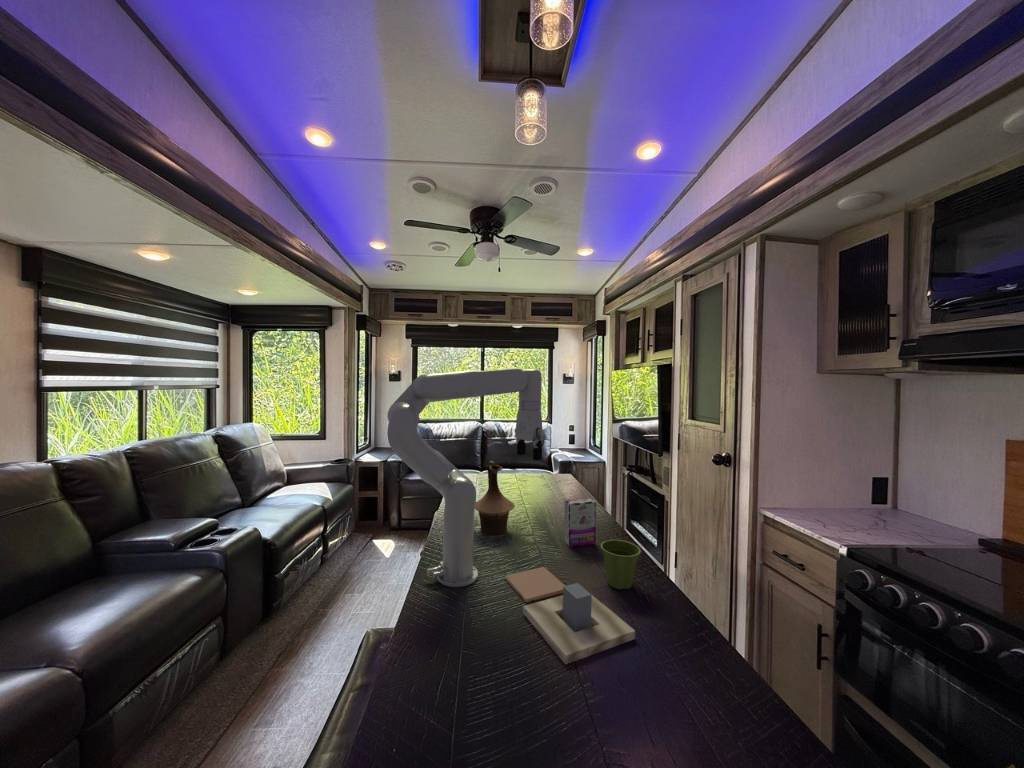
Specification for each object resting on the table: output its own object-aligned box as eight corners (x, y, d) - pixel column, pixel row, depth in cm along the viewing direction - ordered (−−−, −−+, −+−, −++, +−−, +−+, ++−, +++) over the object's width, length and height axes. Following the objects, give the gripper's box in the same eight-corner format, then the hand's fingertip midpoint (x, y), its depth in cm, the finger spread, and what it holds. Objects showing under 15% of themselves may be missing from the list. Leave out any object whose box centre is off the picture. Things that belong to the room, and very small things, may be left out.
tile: (526, 602, 106) (526, 599, 106) (504, 578, 119) (504, 575, 119) (568, 591, 112) (568, 588, 112) (543, 569, 125) (543, 566, 125)
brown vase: (468, 524, 162) (469, 459, 162) (505, 520, 168) (506, 457, 168) (479, 541, 146) (480, 468, 146) (520, 535, 152) (521, 465, 152)
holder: (565, 664, 83) (565, 655, 83) (523, 613, 101) (523, 606, 101) (634, 638, 92) (635, 630, 92) (584, 596, 110) (584, 589, 110)
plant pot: (642, 597, 110) (643, 558, 110) (600, 591, 112) (601, 553, 112) (637, 576, 122) (638, 541, 121) (599, 572, 124) (600, 537, 124)
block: (576, 635, 93) (576, 598, 93) (562, 621, 98) (563, 586, 98) (590, 630, 95) (591, 594, 95) (576, 616, 100) (577, 582, 100)
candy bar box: (589, 539, 150) (590, 497, 149) (595, 544, 145) (596, 501, 145) (563, 542, 147) (564, 499, 146) (568, 547, 142) (569, 503, 142)
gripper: (507, 404, 133) (506, 453, 134) (535, 408, 119) (534, 463, 119) (525, 404, 137) (524, 451, 137) (554, 407, 122) (553, 461, 123)
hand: (529, 457), depth 128 cm, fingers open, 9 cm apart
